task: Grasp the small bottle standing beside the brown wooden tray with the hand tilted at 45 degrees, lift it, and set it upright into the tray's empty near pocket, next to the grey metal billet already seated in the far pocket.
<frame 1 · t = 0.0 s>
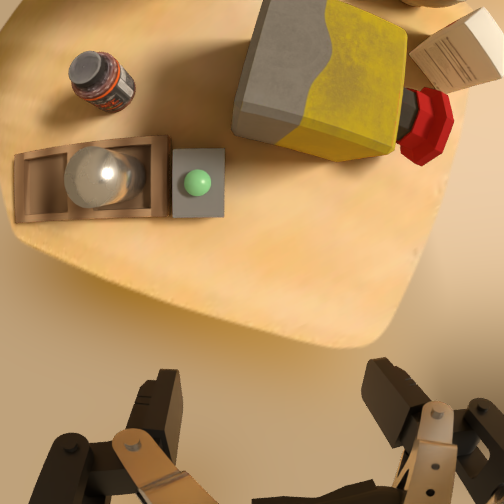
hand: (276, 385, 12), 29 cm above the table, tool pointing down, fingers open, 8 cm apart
brown wooden tray: (86, 180, 36), on the table
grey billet: (124, 177, 36), point 1 cm above the table, touching brown wooden tray
supplement box: (435, 64, 36), on the table
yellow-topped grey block: (330, 107, 37), on the table
start console: (200, 182, 38), on the table
supplement bottle: (117, 93, 34), on the table
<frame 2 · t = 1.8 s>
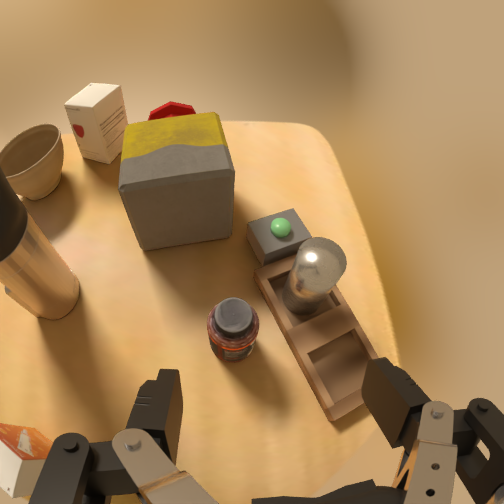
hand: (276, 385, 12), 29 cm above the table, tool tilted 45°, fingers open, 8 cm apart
planter bowl: (44, 184, 54), on the table
brown wooden tray: (320, 333, 42), on the table
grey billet: (302, 296, 44), point 1 cm above the table, touching brown wooden tray
small box: (48, 457, 28), on the table
supplement box: (106, 149, 60), on the table
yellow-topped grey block: (180, 192, 55), on the table
start console: (276, 244, 50), on the table
supplement bottle: (232, 342, 41), on the table
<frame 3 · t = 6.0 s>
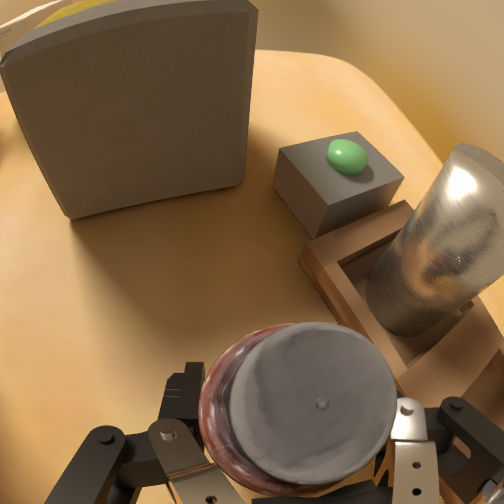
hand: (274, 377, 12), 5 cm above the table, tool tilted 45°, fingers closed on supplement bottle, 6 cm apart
brown wooden tray: (440, 367, 17), on the table
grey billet: (403, 296, 19), point 1 cm above the table, touching brown wooden tray
supplement box: (51, 93, 34), on the table
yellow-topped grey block: (147, 125, 29), on the table
start console: (331, 197, 25), on the table
supplement bottle: (264, 418, 16), on the table, touching gripper
when the fingers open (8 cm above the table, at t = 12.2 s): supplement bottle drops 2 cm, resting on brown wooden tray.
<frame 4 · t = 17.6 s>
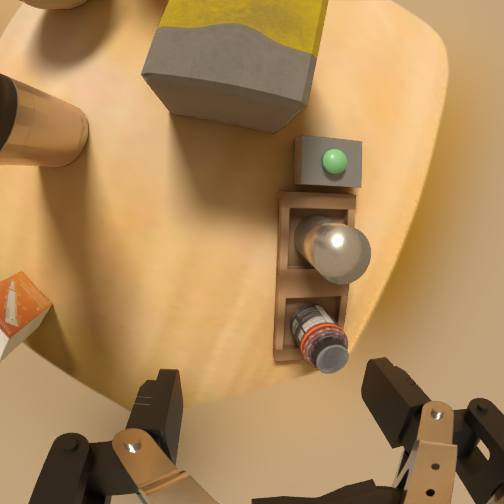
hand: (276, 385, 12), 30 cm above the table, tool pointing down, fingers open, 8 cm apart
brown wooden tray: (310, 277, 43), on the table
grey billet: (315, 237, 41), point 1 cm above the table, touching brown wooden tray
small box: (30, 298, 40), on the table
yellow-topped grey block: (243, 46, 35), on the table
start console: (322, 163, 39), on the table
supplement bottle: (308, 319, 44), point 1 cm above the table, touching brown wooden tray
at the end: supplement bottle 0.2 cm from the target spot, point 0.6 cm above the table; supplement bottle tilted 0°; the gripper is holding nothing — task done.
